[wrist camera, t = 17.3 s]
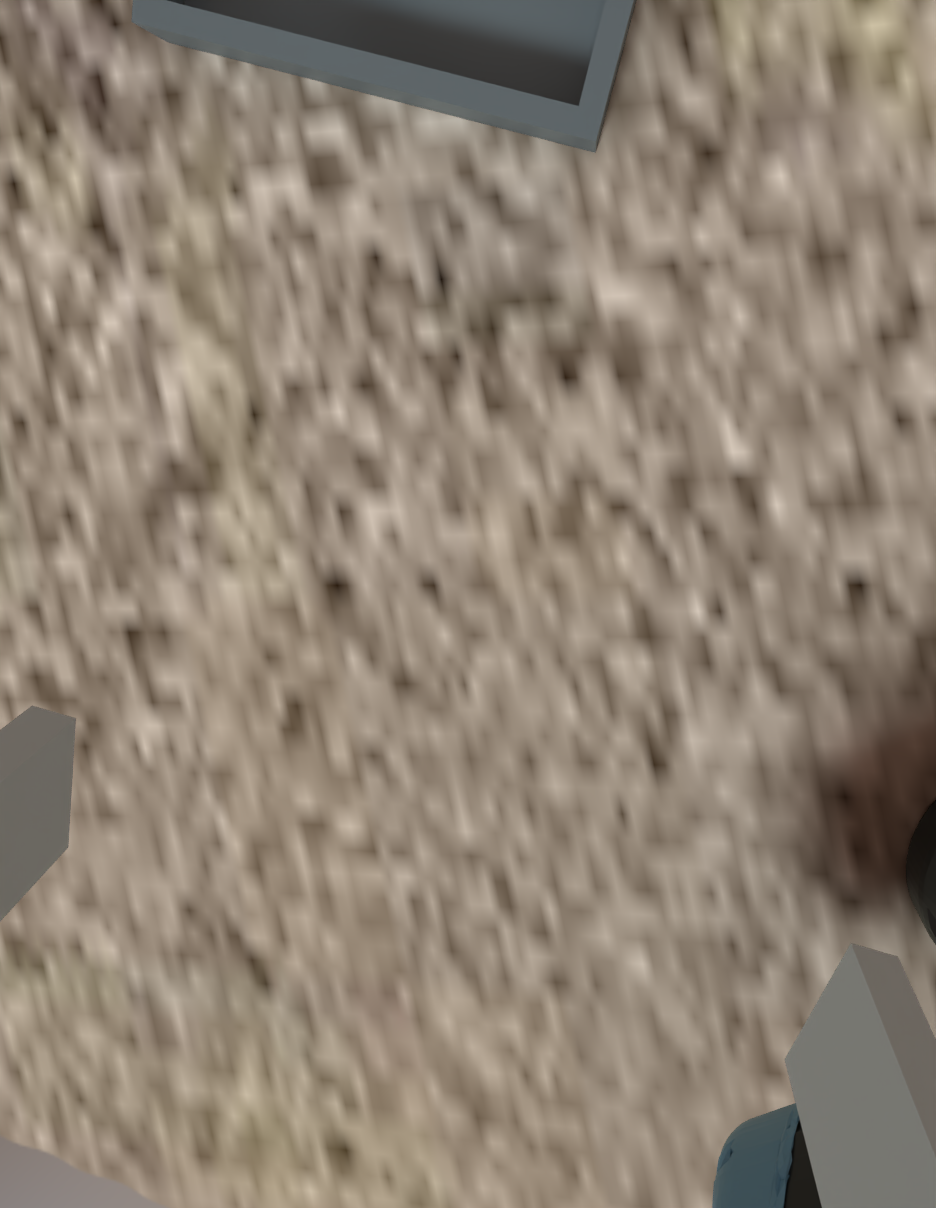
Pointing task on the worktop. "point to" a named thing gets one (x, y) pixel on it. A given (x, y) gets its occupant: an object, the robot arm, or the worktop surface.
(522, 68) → the tray
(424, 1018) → the worktop surface
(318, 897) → the worktop surface
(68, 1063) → the worktop surface
